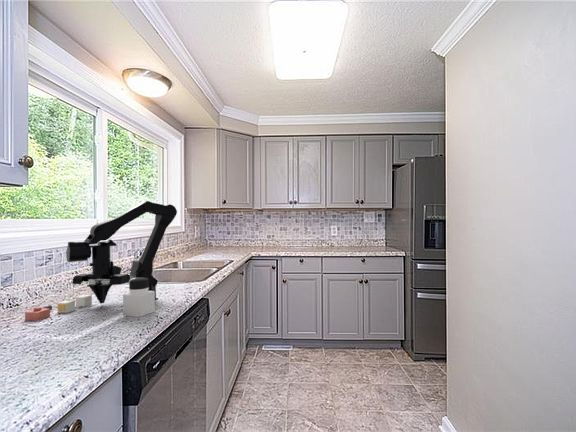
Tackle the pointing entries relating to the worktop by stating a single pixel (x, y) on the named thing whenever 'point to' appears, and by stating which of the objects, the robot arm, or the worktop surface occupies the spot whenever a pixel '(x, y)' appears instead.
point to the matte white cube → (66, 306)
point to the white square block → (84, 300)
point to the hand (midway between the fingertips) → (102, 303)
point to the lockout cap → (37, 314)
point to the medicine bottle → (138, 298)
